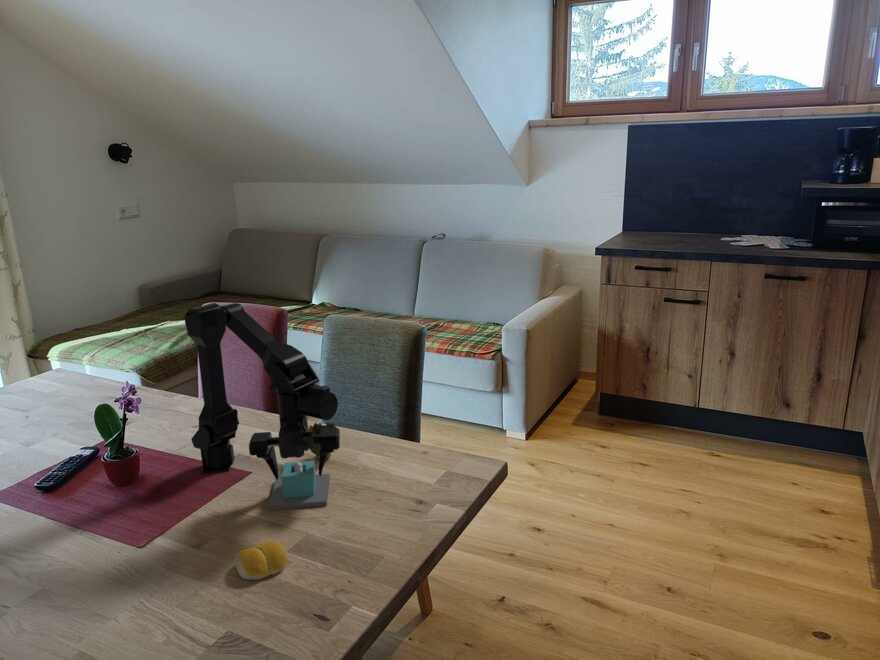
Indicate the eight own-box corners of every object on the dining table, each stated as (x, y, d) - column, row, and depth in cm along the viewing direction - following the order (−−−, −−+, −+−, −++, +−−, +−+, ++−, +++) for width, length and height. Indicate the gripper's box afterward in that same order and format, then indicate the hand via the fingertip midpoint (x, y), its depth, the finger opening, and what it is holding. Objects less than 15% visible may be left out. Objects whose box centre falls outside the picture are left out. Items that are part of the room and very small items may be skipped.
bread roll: (294, 568, 118) (292, 549, 117) (245, 587, 113) (243, 568, 112) (278, 546, 125) (276, 528, 124) (231, 563, 120) (229, 544, 119)
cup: (342, 451, 162) (339, 422, 160) (334, 465, 155) (332, 435, 153) (312, 451, 163) (310, 421, 161) (304, 465, 156) (301, 434, 154)
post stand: (268, 510, 137) (265, 478, 135) (276, 481, 148) (273, 452, 146) (326, 505, 138) (324, 473, 136) (329, 477, 150) (327, 448, 148)
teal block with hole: (283, 497, 140) (281, 476, 138) (286, 483, 146) (284, 462, 144) (313, 495, 140) (312, 474, 139) (315, 480, 146) (314, 460, 145)
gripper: (240, 429, 129) (248, 499, 134) (335, 423, 131) (340, 492, 135) (249, 407, 140) (257, 473, 144) (337, 402, 142) (342, 466, 146)
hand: (298, 476), depth 142 cm, fingers open, 9 cm apart
